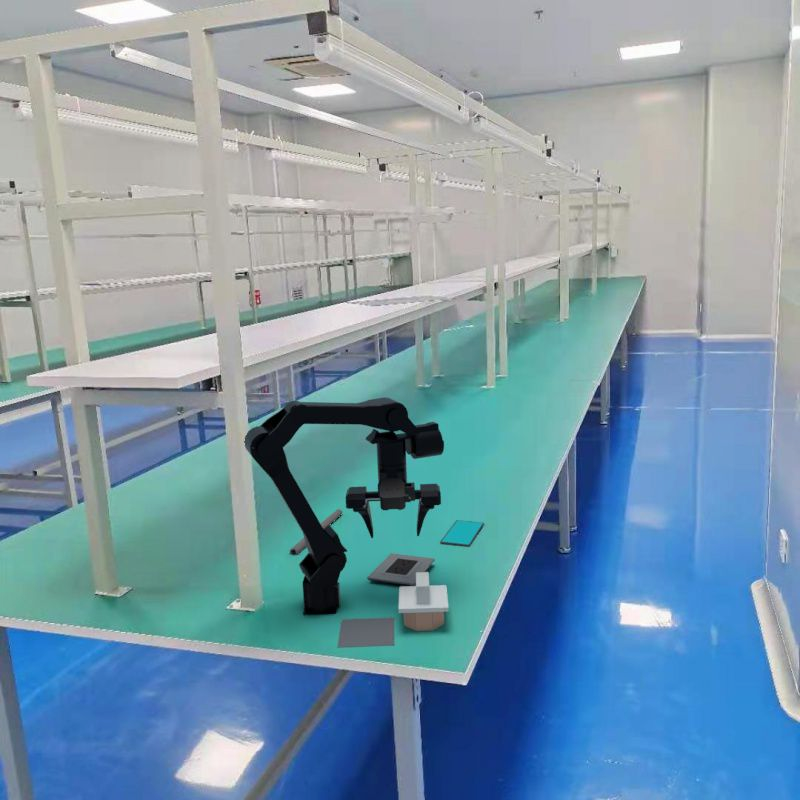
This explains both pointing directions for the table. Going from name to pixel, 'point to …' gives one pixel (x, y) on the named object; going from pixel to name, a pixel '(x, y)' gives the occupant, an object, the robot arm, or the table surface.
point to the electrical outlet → (400, 569)
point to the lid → (423, 596)
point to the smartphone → (462, 533)
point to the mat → (366, 632)
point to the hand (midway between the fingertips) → (395, 536)
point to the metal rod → (324, 524)
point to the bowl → (423, 620)
